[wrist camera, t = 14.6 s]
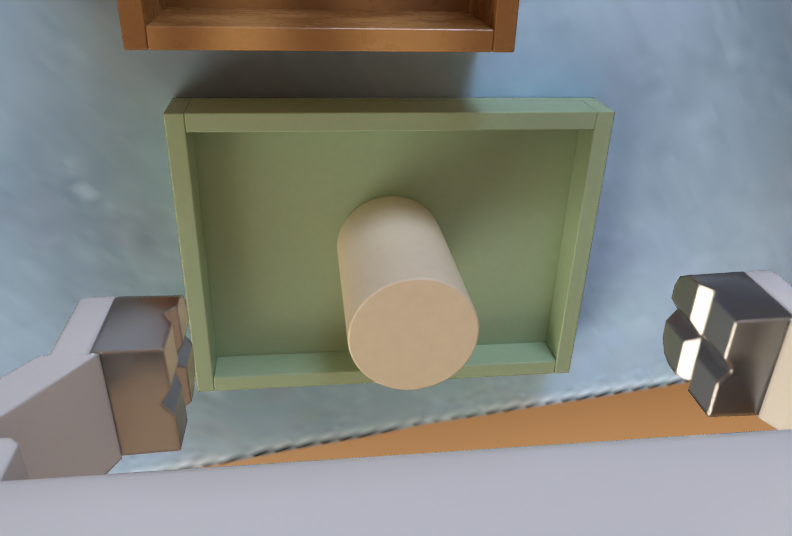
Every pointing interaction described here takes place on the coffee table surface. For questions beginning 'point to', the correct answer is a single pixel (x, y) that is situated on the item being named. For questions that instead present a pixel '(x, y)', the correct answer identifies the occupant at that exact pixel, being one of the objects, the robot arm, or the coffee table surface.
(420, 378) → the candle
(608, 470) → the robot arm
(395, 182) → the tray
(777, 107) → the coffee table surface
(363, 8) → the wooden box
